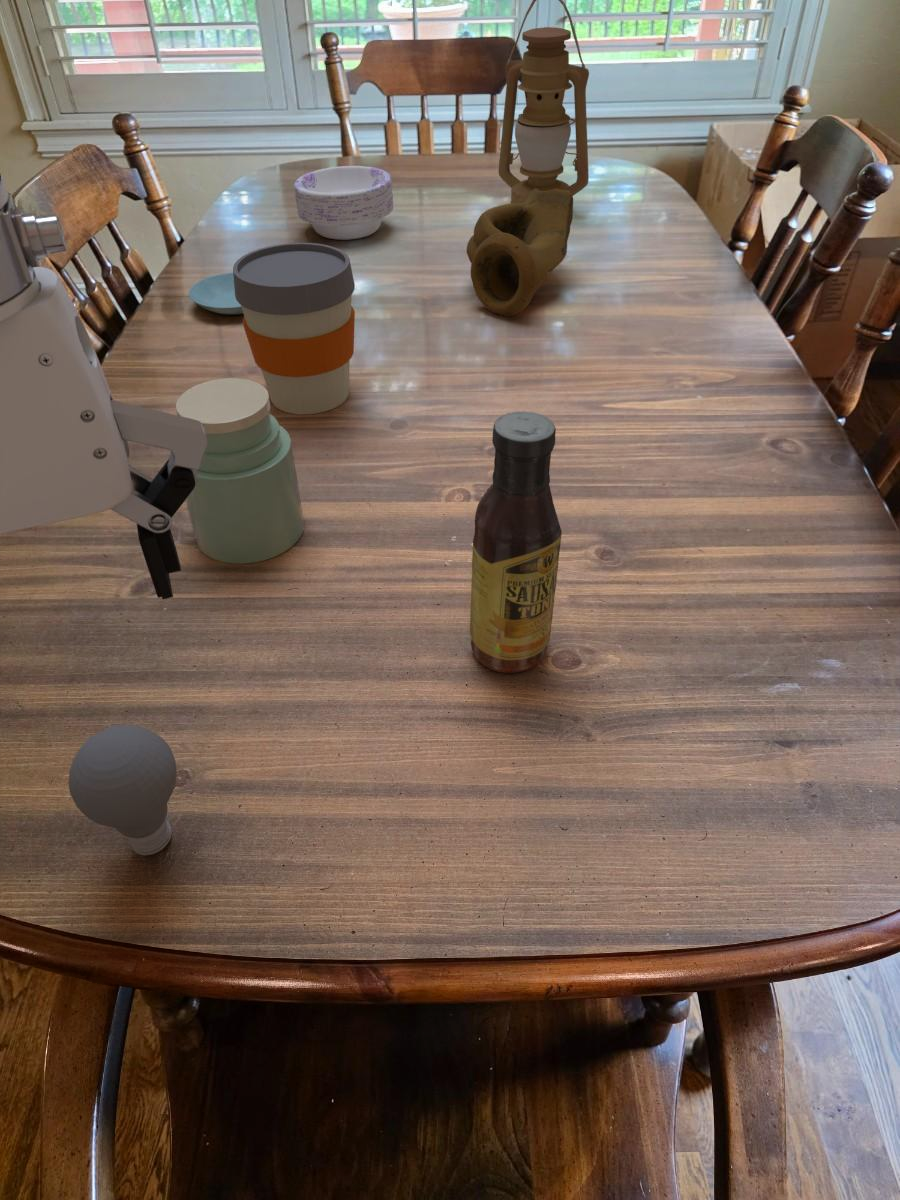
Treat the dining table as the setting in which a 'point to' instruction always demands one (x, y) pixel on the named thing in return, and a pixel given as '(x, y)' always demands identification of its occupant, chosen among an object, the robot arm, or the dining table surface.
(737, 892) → the dining table surface
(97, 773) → the light bulb
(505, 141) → the lantern
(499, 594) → the sauce bottle
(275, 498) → the green lidded jar
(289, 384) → the reusable coffee cup
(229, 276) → the saucer
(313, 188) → the paper bowls
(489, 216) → the brown looped sculpture
